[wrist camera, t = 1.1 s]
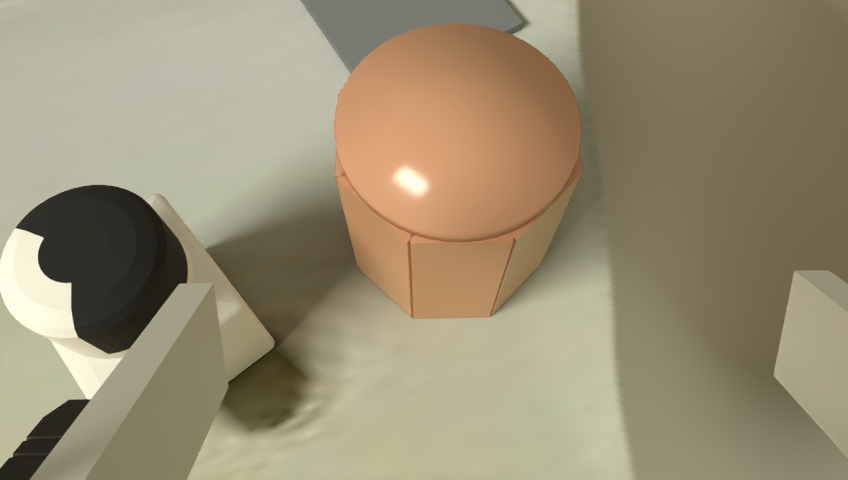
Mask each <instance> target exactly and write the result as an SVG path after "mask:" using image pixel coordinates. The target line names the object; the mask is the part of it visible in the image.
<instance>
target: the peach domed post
mask: <svg viewBox="0 0 848 480" xmlns="http://www.w3.org/2000/svg"><path fill="white" fill-rule="evenodd" d="M339 93H340V94H338V103H337V107H336V112H335V121H334V129H335V140H336V164H335V178H336V182H337V186H338V190H339V194H340V198H341V202H342V206H343V210H344V215H345V219H346V223H347V227H348V231H349V235H350V239H351V243H352V247H353V251H354V255H355V259H356V263H357V266H358V269H359V270H360V271H362V272H363V273H364V274H365V275H366V276H367V277H368V278H369V279H370V280H371V281H372V282H373V283H374V284H375V285H377V286H378V287H379V288H380V289H381V290H382V291H383V292H384V293H385V294H386V295H387V296H388V297H389V298H391V299H392V300H393V301H394V302H395V303H396V304H397V305H398V306H399V307H400V308H401V309H402V310H403V311H404V312H406V313H407V314H408V315H409V316H410V317H412V316H413V319H415V318H466V317H489V316H490V315H491V316H492V315H493V314H494V313H495V312H496V311H497V310H498V309H499V308H500V307H501V306H502V305H503V304H504V303H505V301H506V300H507V299H508V298H509V297H510V296H511V295H512V294H513V293H514V292H515V291H516V290H517V289H518V288H519V287H520V286H521V285H522V284H523V283H524V282H525V280H526V279H527V278H528V277H529V276H530V275H531V274H532V273H533V272H534V271H535V270H536V269H537V268H538V267H539V266H540V265H541V262H542V260H543V258H544V256H545V254H546V251H547V249H548V247H549V245H550V242H551V240H552V238H553V236H554V234H555V231H556V229H557V227H558V225H559V223H560V220H561V218H562V216H563V214H564V211H565V209H566V207H567V205H568V203H569V200H570V198H571V196H572V194H573V192H574V189H575V187H576V185H577V183H578V180H579V178H580V176H581V173H582V168H581V160H580V153H579V149H580V143H581V118H580V113H579V109H578V105H577V102H576V99H575V96H574V94H573V92H572V90H571V88H570V86H569V84H568V82H567V80H566V79H565V78H564V76H563V75H562V74H561V72H560V71H559V69H558V68H557V67H556V66H555V65H554V64H553V63H552V62H551V61H550V60H549V59H548V58H547V57H546V56H545V55H543V54H542V53H541V52H540V51H539V50H537V49H536V48H534V47H533V46H531V45H530V44H528V43H527V42H525V41H523V40H521V39H519V38H517V37H515V36H513V35H511V34H508V33H505V32H503V31H500V30H497V29H493V28H489V27H485V26H480V25H473V24H459V23H450V24H437V25H431V26H425V27H421V28H418V29H414V30H411V31H408V32H405V33H403V34H400V35H398V36H396V37H394V38H392V39H390V40H388V41H386V42H385V43H383V44H381V45H380V46H379V47H377V48H376V49H375V50H373V51H372V52H371V53H370V54H368V55H367V56H366V57H365V58H364V59H363V60H362V61H361V62H360V63H359V64H358V66H357V67H356V68H355V69H354V70H353V72H352V73H351V75H350V76H349V78H348V80H347V81H346V83H345V85H344V87H343V89H341V90H340V91H339Z"/></svg>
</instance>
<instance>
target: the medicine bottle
mask: <svg viewBox="0 0 848 480" xmlns="http://www.w3.org/2000/svg"><path fill="white" fill-rule="evenodd" d="M187 283H214V290H215V297H216V304H217V311H218V318H219V325H220V332H221V339H222V346H223V353H224V360H225V367H226V374H227V381H228V382H229V381H231V380H232V379H233V378H235V377H236V376H237V375H239V374H240V373H241V372H242V371H244V370H245V369H246V368H248V367H249V366H250V365H252V364H253V363H254V362H256V361H257V360H258V359H260V358H261V357H262V356H264V355H265V354H266V353H267V352H269V351H270V350H271V349H272V348H273V347H274V343H275V342H274V339H273V338H272V337H271V335H270V334H269V333H268V331H267V330H266V329H265V327H264V326H263V325H262V323H261V322H260V321H259V319H258V318H257V317H256V316H255V314H254V313H253V312H252V310H251V309H250V308H249V306H248V305H247V304H246V302H245V301H244V300H243V298H242V297H241V296H240V294H239V293H238V292H237V291H236V289H235V288H234V287H233V285H232V284H231V283H230V281H229V280H228V279H227V277H226V276H225V275H224V273H223V272H222V271H221V270H220V268H219V267H218V266H217V264H216V263H215V262H214V260H213V259H212V258H211V256H210V255H209V254H208V252H207V251H206V250H205V249H204V247H203V246H202V245H201V243H200V242H199V241H198V240H197V238H196V237H195V236H194V234H193V233H192V232H191V231H190V229H189V228H188V227H187V225H186V224H185V223H184V222H183V220H182V219H181V218H180V216H179V215H178V214H177V212H176V211H175V210H174V209H173V207H172V206H171V205H170V203H169V202H168V201H167V200H166V198H165V197H164V196H162V195H160V194H155V195H152V196H151V197H149V198H148V199H146V200H144V199H143V198H141V197H140V196H138V195H136V194H135V193H133V192H130V191H128V190H126V189H122V188H119V187H115V186H107V185H90V186H82V187H78V188H74V189H70V190H67V191H64V192H62V193H59V194H57V195H55V196H53V197H51V198H49V199H47V200H46V201H44V202H43V203H41V204H39V205H38V206H37V207H36V208H34V209H33V210H32V211H30V212H29V213H28V214H27V215H26V216H25V217H24V218H23V219H22V221H21V222H20V223H19V224H18V225H17V227H16V228H15V230H14V231H13V233H12V234H11V236H10V238H9V239H8V241H7V244H6V246H5V248H4V250H3V254H2V257H1V260H0V292H1V295H2V298H3V301H4V303H5V305H6V306H7V308H8V310H9V311H10V313H11V314H12V315H13V316H14V317H15V319H17V320H18V321H19V322H20V323H21V324H22V325H24V326H25V327H27V328H29V329H30V330H32V331H34V332H36V333H38V334H40V335H42V336H44V337H46V338H48V339H50V340H51V342H52V343H53V345H54V346H55V348H56V350H57V351H58V353H59V354H60V356H61V358H62V359H63V361H64V362H65V364H66V366H67V367H68V369H69V370H70V372H71V373H72V375H73V377H74V378H75V380H76V381H77V383H78V385H79V386H80V388H81V389H82V391H83V393H84V394H85V396H86V397H87V399H92V397H93V396H94V395H95V393H96V392H97V391H98V390H99V388H100V387H101V386H102V384H103V383H104V382H105V380H106V379H107V378H108V376H109V375H110V374H111V373H112V371H113V370H114V369H115V367H116V366H117V365H118V363H119V362H120V361H121V359H122V358H123V357H124V355H125V354H126V353H127V352H128V350H129V349H130V348H131V346H132V345H133V344H134V342H135V341H136V340H137V338H138V337H139V336H140V335H141V333H142V332H143V331H144V329H145V328H146V327H147V325H148V324H149V323H150V321H151V320H152V319H153V317H154V316H155V315H156V314H157V312H158V311H159V310H160V308H161V307H162V306H163V304H164V303H165V302H166V300H167V299H168V298H169V297H170V295H171V294H172V293H173V291H174V290H175V289H176V287H177V286H178V285H179V284H187Z"/></svg>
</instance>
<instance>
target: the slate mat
mask: <svg viewBox="0 0 848 480" xmlns="http://www.w3.org/2000/svg"><path fill="white" fill-rule="evenodd" d="M301 1H302V3H303V4H304V6H305V7H306V9H307V10H308V11H309V13H310V14H311V16H312V17H313V19H314V20H315V22H316V23H317V25H318V26H319V28H320V29H321V30H322V32H323V33H324V35H325V36H326V38H327V39H328V41H329V42H330V44H331V45H332V47H333V48H334V49H335V51H336V52H337V54H338V55H339V57H340V58H341V60H342V61H343V63H344V64H345V66H346V67H347V68H348V70H349V71H350V73H352V72H353V70H354V69H355V68H356V67H357V66H358V64H359V63H360V62H361V61H362V60H363V59H364V58H365V57H366V56H367V55H368V54H370V53H371V52H372V51H373V50H375V49H376V48H377V47H379V46H380V45H381V44H383V43H385V42H386V41H388V40H390V39H392V38H394V37H396V36H398V35H400V34H403V33H405V32H408V31H411V30H414V29H418V28H421V27H425V26H431V25H437V24H450V23H459V24H473V25H480V26H485V27H489V28H493V29H497V30H500V31H503V32H505V33H508V34H513V33H515V32H517V31H519V30H521V29H522V26H523V21H522V20H521V19H520V18H519V17H518V15H517V14H516V13H515V12H514V11H513V9H512V8H511V7H510V6H509V5H508V3H507V2H506V1H505V0H301Z"/></svg>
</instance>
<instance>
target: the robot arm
mask: <svg viewBox="0 0 848 480" xmlns="http://www.w3.org/2000/svg"><path fill="white" fill-rule="evenodd" d="M774 377H775V378H776V379H777V380H778V381H779V382H780V383H781V384H782V385H783V386H784V388H785V389H786V390H787V391H788V392H789V393H790V394H791V395H792V396H793V398H794V399H795V400H796V401H797V402H798V403H799V404H800V405H801V406H802V408H803V409H804V410H805V411H806V412H807V413H808V414H809V415H810V417H811V418H812V419H813V420H814V421H815V422H816V423H817V424H818V426H820V428H821V429H822V430H823V431H824V432H825V433H826V434H827V436H828V437H829V438H830V439H831V440H832V441H833V442H834V443H835V444H836V446H837V447H838V448H839V449H840V450H841V451H842V452H843V453H844V454H845V455H846V457H847V458H848V284H847V283H845V282H844V281H842V280H841V279H840V278H838V277H837V276H836V275H834V274H833V273H831V272H830V271H829V270H812V271H794V276H793V281H792V286H791V291H790V296H789V301H788V305H787V310H786V315H785V321H784V326H783V330H782V336H781V340H780V345H779V350H778V355H777V360H776V365H775V370H774ZM227 389H228V381H227V374H226V367H225V360H224V353H223V346H222V339H221V332H220V325H219V318H218V311H217V304H216V297H215V290H214V283H187V284H179V285H178V286H177V287H176V289H175V290H174V291H173V293H172V294H171V295H170V297H169V298H168V299H167V300H166V302H165V303H164V304H163V306H162V307H161V308H160V310H159V311H158V312H157V314H156V315H155V316H154V317H153V319H152V320H151V321H150V323H149V324H148V325H147V327H146V328H145V329H144V331H143V332H142V333H141V335H140V336H139V337H138V338H137V340H136V341H135V342H134V344H133V345H132V346H131V348H130V349H129V350H128V352H127V353H126V354H125V355H124V357H123V358H122V359H121V361H120V362H119V363H118V365H117V366H116V367H115V369H114V370H113V371H112V373H111V374H110V375H109V376H108V378H107V379H106V380H105V382H104V383H103V384H102V386H101V387H100V388H99V390H98V391H97V392H96V393H95V395H94V396H93V397H92V399H84V400H68V401H67V402H65V403H64V404H62V405H61V406H59V407H58V408H56V409H55V410H53V411H52V412H50V413H49V414H48V415H46V416H45V417H43V418H42V420H41V421H40V422H39V423H38V424H37V426H36V427H35V428H34V429H33V430H32V432H31V433H30V434H29V435H28V436H27V440H26V441H23V442H22V443H21V445H20V446H19V447H18V448H17V449H16V451H15V452H14V453H13V457H12V458H9V459H8V460H7V461H6V462H5V464H4V465H3V466H2V467H1V468H0V480H187V478H188V476H189V473H190V471H191V469H192V467H193V464H194V462H195V460H196V458H197V456H198V453H199V451H200V449H201V447H202V445H203V442H204V440H205V438H206V436H207V434H208V431H209V429H210V427H211V425H212V422H213V420H214V418H215V416H216V414H217V411H218V409H219V407H220V405H221V403H222V400H223V398H224V396H225V394H226V391H227Z"/></svg>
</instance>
